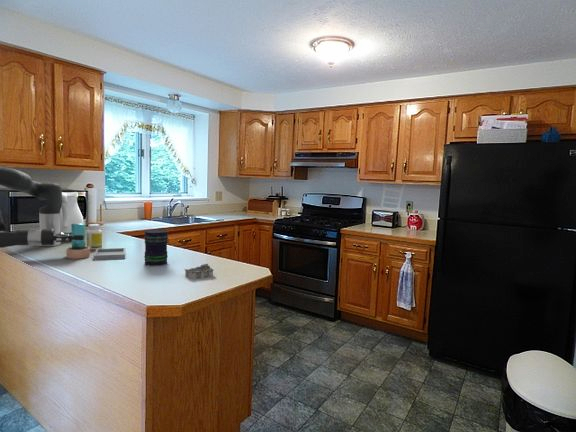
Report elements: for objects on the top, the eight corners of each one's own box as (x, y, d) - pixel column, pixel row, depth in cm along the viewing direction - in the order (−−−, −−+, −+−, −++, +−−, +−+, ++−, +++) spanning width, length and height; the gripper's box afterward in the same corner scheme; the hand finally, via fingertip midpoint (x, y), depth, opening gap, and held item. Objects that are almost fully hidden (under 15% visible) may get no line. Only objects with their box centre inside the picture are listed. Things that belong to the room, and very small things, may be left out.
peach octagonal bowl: (68, 254, 165) (68, 246, 165) (91, 253, 169) (90, 245, 169) (65, 259, 157) (65, 250, 156) (88, 258, 161) (88, 249, 160)
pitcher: (53, 237, 208) (52, 191, 206) (85, 236, 215) (85, 192, 213) (44, 244, 187) (43, 193, 184) (80, 243, 194) (80, 194, 191)
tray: (96, 252, 172) (96, 248, 172) (125, 251, 178) (125, 248, 178) (93, 259, 158) (93, 255, 158) (124, 258, 163) (124, 254, 163)
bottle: (72, 254, 164) (72, 223, 163) (86, 253, 167) (85, 223, 165) (70, 256, 159) (70, 224, 158) (84, 256, 162) (84, 224, 160)
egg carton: (208, 272, 147) (208, 263, 146) (215, 277, 140) (215, 267, 140) (183, 275, 141) (183, 265, 140) (189, 280, 134) (189, 269, 134)
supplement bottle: (104, 248, 185) (104, 224, 183) (96, 250, 178) (96, 225, 176) (92, 247, 185) (92, 223, 184) (83, 249, 178) (83, 225, 177)
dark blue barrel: (159, 266, 151) (160, 233, 150) (139, 264, 153) (139, 231, 152) (171, 262, 161) (172, 230, 159) (152, 260, 163) (152, 228, 161)
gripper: (37, 231, 149) (82, 230, 156) (45, 226, 162) (86, 226, 169) (38, 248, 150) (82, 247, 157) (45, 242, 163) (86, 241, 170)
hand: (84, 236), depth 163 cm, fingers closed on bottle, 5 cm apart
